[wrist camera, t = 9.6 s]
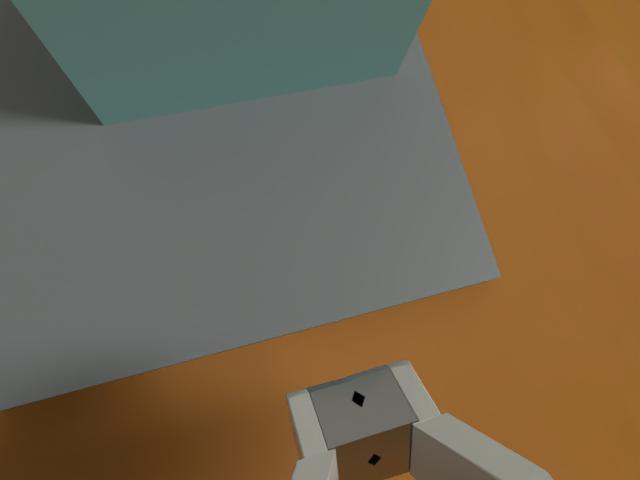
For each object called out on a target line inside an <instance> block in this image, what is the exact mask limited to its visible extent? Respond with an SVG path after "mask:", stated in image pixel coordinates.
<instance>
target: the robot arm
mask: <svg viewBox="0 0 640 480" xmlns="http://www.w3.org/2000/svg"><path fill="white" fill-rule="evenodd" d="M286 399H287V404H288V410H289V415H290V421H291V425H292V430H293V435H294V439H295V444H296V448H297V452H298V456H299V459H300V460H297V462H296V465H295V468H294V471H293V474H292V477H291V480H384V479H388V478H391V477H394V476H397V475H400V474H404V473H407V472H410V474H411V475H412V476H413V477H415V478H416V479H417V480H553V479H552V477H551V476H550V475H549V473H548V472H547V471H546V470H544V469H542V468H541V467H539V466H537V465H535V464H534V463H532V462H530V461H529V460H527V459H525V458H523V457H522V456H520V455H518V454H517V453H515V452H513V451H511V450H510V449H508V448H506V447H505V446H503V445H501V444H500V443H498V442H496V441H494V440H493V439H491V438H489V437H488V436H486V435H484V434H482V433H481V432H479V431H477V430H476V429H474V428H472V427H470V426H469V425H467V424H465V423H464V422H462V421H460V420H459V419H457V418H455V417H453V416H452V415H450V414H448V413H444V414H441V413H440V412H439V410H438V408H437V407H436V405H435V403H434V402H433V400H432V399H431V397H430V395H429V394H428V392H427V390H426V389H425V387H424V385H423V384H422V382H421V380H420V379H419V377H418V375H417V374H416V372H415V370H414V369H413V367H412V366H411V364H410V362H409V361H407V360H406V359H405V360H401V361H398V362H394V363H391V364H388V365H382V366H379V367H376V368H373V369H369V370H366V371H363V372H360V373H356V374H353V375H350V376H347V377H346V378H342V379H338V380H335V381H331V382H327V383H323V384H319V385H315V386H312V387H308V388H304V389H301V390H297V391H293V392H290V393H286Z"/></svg>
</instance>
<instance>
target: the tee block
mask: <svg viewBox="0 0 640 480" xmlns="http://www.w3.org/2000/svg"><path fill="white" fill-rule="evenodd" d="M11 1H12V3H13V4H14V5H15V7H16V8H17V9H18V11H19V12H20V13H21V15H22V16H23V17H24V19H25V20H26V21H27V23H28V24H29V25H30V27H31V28H32V30H33V31H34V32H35V34H36V35H37V36H38V38H39V39H40V40H41V42H42V43H43V44H44V46H45V47H46V48H47V50H48V51H49V52H50V54H51V55H52V56H53V58H54V59H55V60H56V62H57V63H58V65H59V66H60V67H61V69H62V70H63V71H64V73H65V74H66V75H67V77H68V78H69V79H70V81H71V82H72V83H73V85H74V86H75V87H76V89H77V90H78V91H79V93H80V94H81V96H82V97H83V98H84V100H85V101H86V102H87V104H88V105H89V106H90V108H91V109H92V110H93V112H94V113H95V114H96V116H97V117H98V118H99V120H100V121H101V122H102V124H103V125H104V126H105V125H110V124H116V123H122V122H128V121H134V120H139V119H145V118H151V117H157V116H163V115H168V114H174V113H180V112H186V111H191V110H197V109H203V108H209V107H215V106H220V105H226V104H232V103H238V102H244V101H249V100H255V99H261V98H267V97H272V96H278V95H284V94H290V93H296V92H301V91H307V90H313V89H319V88H324V87H330V86H336V85H342V84H348V83H353V82H359V81H365V80H371V79H377V78H382V77H388V76H394V75H396V74H397V72H398V70H399V68H400V66H401V64H402V62H403V60H404V58H405V56H406V53H407V51H408V49H409V47H410V45H411V43H412V41H413V39H414V37H415V35H416V33H417V30H418V28H419V26H420V24H421V22H422V20H423V18H424V16H425V14H426V12H427V10H428V7H429V5H430V3H431V1H432V0H11Z"/></svg>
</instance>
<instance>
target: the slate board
mask: <svg viewBox="0 0 640 480" xmlns="http://www.w3.org/2000/svg"><path fill="white" fill-rule="evenodd" d="M500 277H501V274H500V271H499V269H498V266H497V263H496V260H495V257H494V254H493V251H492V248H491V245H490V242H489V240H488V237H487V234H486V231H485V228H484V225H483V222H482V219H481V216H480V213H479V211H478V208H477V205H476V202H475V199H474V196H473V193H472V190H471V187H470V184H469V182H468V179H467V176H466V173H465V170H464V167H463V164H462V161H461V158H460V155H459V153H458V150H457V147H456V144H455V141H454V138H453V135H452V132H451V129H450V126H449V124H448V121H447V118H446V115H445V112H444V109H443V106H442V103H441V100H440V97H439V95H438V92H437V89H436V86H435V83H434V80H433V77H432V74H431V71H430V68H429V66H428V63H427V60H426V57H425V54H424V51H423V48H422V45H421V42H420V39H419V37H418V34H417V33H416V35H415V37H414V39H413V41H412V43H411V45H410V47H409V49H408V51H407V53H406V56H405V58H404V60H403V62H402V64H401V66H400V68H399V70H398V72H397V74H396V75H394V76H388V77H382V78H377V79H371V80H365V81H359V82H353V83H348V84H342V85H336V86H330V87H324V88H319V89H313V90H307V91H301V92H296V93H290V94H284V95H278V96H272V97H267V98H261V99H255V100H249V101H244V102H238V103H232V104H226V105H220V106H215V107H209V108H203V109H197V110H191V111H186V112H180V113H174V114H168V115H163V116H157V117H151V118H145V119H139V120H134V121H128V122H122V123H116V124H110V125H105V126H104V125H103V124H102V122H101V121H100V120H99V118H98V117H97V116H96V114H95V113H94V112H93V110H92V109H91V108H90V106H89V105H88V104H87V102H86V101H85V100H84V98H83V97H82V96H81V94H80V93H79V91H78V90H77V89H76V87H75V86H74V85H73V83H72V82H71V81H70V79H69V78H68V77H67V75H66V74H65V73H64V71H63V70H62V69H61V67H60V66H59V65H58V63H57V62H56V60H55V59H54V58H53V56H52V55H51V54H50V52H49V51H48V50H47V48H46V47H45V46H44V44H43V43H42V42H41V40H40V39H39V38H38V36H37V35H36V34H35V32H34V31H33V30H32V28H31V27H30V25H29V24H28V23H27V21H26V20H25V19H24V17H23V16H22V15H21V13H20V12H19V11H18V9H17V8H16V7H15V5H14V4H13V3H12V1H11V0H0V411H2V410H6V409H10V408H14V407H17V406H21V405H25V404H29V403H32V402H36V401H40V400H44V399H47V398H51V397H55V396H59V395H62V394H66V393H70V392H74V391H77V390H81V389H85V388H88V387H92V386H96V385H100V384H103V383H107V382H111V381H115V380H118V379H122V378H126V377H130V376H133V375H137V374H141V373H145V372H148V371H152V370H156V369H160V368H163V367H167V366H171V365H175V364H178V363H182V362H186V361H190V360H193V359H197V358H201V357H205V356H208V355H212V354H216V353H220V352H223V351H227V350H231V349H235V348H238V347H242V346H246V345H250V344H253V343H257V342H261V341H265V340H268V339H272V338H276V337H280V336H283V335H287V334H291V333H295V332H298V331H302V330H306V329H310V328H313V327H317V326H321V325H325V324H328V323H332V322H336V321H340V320H343V319H347V318H351V317H355V316H358V315H362V314H366V313H370V312H373V311H377V310H381V309H385V308H388V307H392V306H396V305H400V304H403V303H407V302H411V301H415V300H418V299H422V298H426V297H430V296H433V295H437V294H441V293H445V292H448V291H452V290H456V289H460V288H463V287H467V286H471V285H474V284H478V283H482V282H486V281H489V280H493V279H496V278H500Z"/></svg>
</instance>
